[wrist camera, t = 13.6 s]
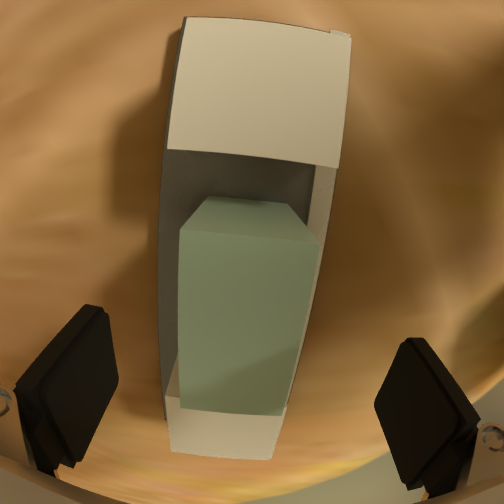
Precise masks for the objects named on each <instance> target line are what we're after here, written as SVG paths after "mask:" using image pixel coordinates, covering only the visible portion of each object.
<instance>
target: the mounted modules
mask: <svg viewBox="0 0 504 504" xmlns="http://www.w3.org/2000/svg"><path fill="white" fill-rule="evenodd" d="M350 54H351V38H347V37H343V36H340V35H335V34H331V33H327V32H322V31H318V30H313V29H308V28H303V27H297V26H291V25H285V24H278V23H271V22H263V21H254V20H243V19H229V18H202V17H187V20H186V25H185V30H184V35H183V40H182V46H181V51H180V57H179V62H178V68H177V75H176V81H175V88H174V95H173V102H172V109H171V117H170V126H169V135H168V144H167V149H178V150H192V151H206V152H218V153H229V154H238V155H248V156H256V157H265V158H273V159H280V160H287V161H294V162H301V163H307V164H314V165H320V166H326V167H332V168H339V160H340V153H341V145H342V138H343V129H344V121H345V112H346V102H347V92H348V80H349V68H350ZM165 402H166V413H167V423H168V432H169V440H170V448H171V451H173V452H179V453H186V454H193V455H202V456H211V457H221V458H234V459H253V460H271V458H272V455H273V452H274V449H275V446H276V443H277V439H278V436H279V433H280V430H281V426H282V423H283V420H284V416H285V413H286V410H287V402H285V406H284V410H283V413H282V416H264V415H245V414H230V413H219V412H209V411H200V410H192V409H184V408H180V392H179V365H178V354H177V357H176V360H175V363H174V367H173V370H172V373H171V377H170V380H169V384H168V387H167V390H166V394H165Z"/></svg>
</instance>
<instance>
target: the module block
mask: <svg viewBox="0 0 504 504" xmlns="http://www.w3.org/2000/svg"><path fill="white" fill-rule="evenodd" d="M319 249H320V242H319V241H318V240H317V239H316V237H315V236H314V235H313V234H312V232H311V231H310V230H309V229H308V228H307V226H306V225H305V224H304V223H303V222H302V220H301V219H300V218H299V217H298V216H297V214H296V213H295V212H294V211H293V210H292V208H291V207H290V206H289V205H288V204H285V203H276V202H267V201H258V200H249V199H239V198H229V197H218V196H208V197H207V198H206V199H205V201H204V202H203V203H202V204H201V205H200V206H199V207H198V209H197V210H196V211H195V212H194V213H193V214H192V216H191V217H190V218H189V219H188V220H187V221H186V223H185V224H184V225H183V226H182V227H181V229H180V238H179V265H178V365H179V392H180V408H184V409H192V410H200V411H209V412H219V413H230V414H245V415H264V416H282V413H283V410H284V406H285V402H286V398H287V395H288V391H289V387H290V383H291V379H292V375H293V371H294V367H295V363H296V359H297V355H298V350H299V346H300V342H301V337H302V333H303V329H304V324H305V319H306V315H307V310H308V305H309V301H310V296H311V291H312V286H313V281H314V276H315V270H316V265H317V260H318V254H319Z"/></svg>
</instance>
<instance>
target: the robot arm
mask: <svg viewBox="0 0 504 504" xmlns="http://www.w3.org/2000/svg"><path fill="white" fill-rule="evenodd" d="M118 380H119V377H118V371H117V366H116V360H115V354H114V348H113V342H112V335H111V328H110V320H109V315H108V313H105V312H104V309H103V308H102V307H99V306H94V305H89V304H85V305H84V306H83V307H82V308H81V309H80V310H79V311H78V312H77V313H76V314H75V315H74V316H73V318H72V319H71V320H70V321H69V322H68V323H67V324H66V325H65V326H64V327H63V329H62V330H61V331H60V332H59V333H58V334H57V335H56V336H55V337H54V339H53V340H52V341H51V342H50V343H49V344H48V345H47V347H46V348H45V349H44V350H43V351H42V352H41V354H40V355H39V356H38V357H37V358H36V359H35V361H34V362H33V363H32V364H31V365H30V367H29V368H28V369H27V370H26V371H25V373H24V374H23V375H22V376H21V378H20V379H19V380H18V381H17V383H16V387H15V389H14V390H13V391H12V390H11V389H10V388H9V387H7V386H5V385H1V384H0V504H129V503H126V502H122V501H119V500H115V499H112V498H109V497H106V496H103V495H100V494H96V493H93V492H91V491H88V490H85V489H82V488H79V487H77V486H74V485H71V484H69V483H66V482H64V481H61V480H60V478H59V475H58V472H57V470H56V469H57V468H58V466H59V464H60V463H61V464H63V465H66V466H68V467H71V468H73V469H74V466H75V464H76V462H81V461H82V459H83V457H84V455H85V453H86V451H87V448H88V446H89V444H90V442H91V440H92V438H93V435H94V433H95V431H96V429H97V427H98V425H99V423H100V420H101V418H102V416H103V414H104V412H105V410H106V408H107V406H108V404H109V402H110V400H111V398H112V396H113V394H114V392H115V390H116V388H117V385H118ZM374 408H375V411H376V414H377V416H378V419H379V422H380V424H381V427H382V429H383V432H384V435H385V437H386V440H387V443H388V446H389V448H390V451H391V454H392V457H393V459H394V462H395V465H396V468H397V471H398V473H399V476H400V479H401V481H402V483H404V484H406V487H407V490H408V491H409V490H413V489H417V488H421V487H422V486H423V485H424V486H425V489H426V490H425V492H424V495H423V497H422V499H421V501H420V502H417V503H414V504H504V427H502V426H501V425H499V424H496V423H492V422H489V423H485V424H483V425H482V426H481V427H480V428H479V429H478V428H477V426H476V425H477V423H478V422H479V421H480V420H481V418H480V417H479V415H478V414H477V412H476V411H475V409H474V408H473V406H472V405H471V403H470V402H469V400H468V399H467V397H466V396H465V394H464V393H463V391H462V390H461V388H460V387H459V385H458V384H457V383H456V381H455V380H454V378H453V377H452V375H451V374H450V373H449V371H448V370H447V368H446V367H445V366H444V364H443V363H442V362H441V360H440V359H439V357H438V356H437V355H436V353H435V352H434V351H433V349H432V348H431V347H430V345H429V344H428V343H427V341H426V340H425V339H424V338H407V339H406V340H405V341H404V342H402V343H401V344H400V346H399V349H398V351H397V353H396V356H395V358H394V360H393V362H392V365H391V367H390V369H389V371H388V374H387V376H386V378H385V380H384V382H383V384H382V386H381V388H380V390H379V392H378V394H377V396H376V398H375V402H374Z"/></svg>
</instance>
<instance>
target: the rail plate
mask: <svg viewBox="0 0 504 504" xmlns="http://www.w3.org/2000/svg"><path fill="white" fill-rule="evenodd" d="M202 18H224V17H202ZM229 19H239V18H229ZM186 20H187V17H184V19H183V23H182V28H181V33H180V38H179V43H178V49H177V54H176V60H175V66H174V72H173V78H172V84H171V91H170V98H169V106H168V113H167V121H166V130H165V139H164V149H163V160H162V172H161V185H160V201H159V221H158V255H157V302H158V336H159V356H160V371H161V384H162V396H163V407H164V416H165V420H167V413H166V402H165V394H166V390H167V387H168V384H169V380H170V377H171V373H172V370H173V367H174V363H175V360H176V357H177V354H178V265H179V238H180V229H181V227H182V226H183V225H184V224H185V223H186V221H187V220H188V219H189V218H190V217H191V216H192V214H193V213H194V212H195V211H196V210H197V209H198V207H199V206H200V205H201V204H202V203H203V202H204V201H205V199H206V198H207V197H208V196H218V197H229V198H239V199H249V200H258V201H267V202H276V203H285V204H288V205H289V206H290V207H291V208H292V210H293V211H294V212H295V213H296V214H297V216H298V217H299V218H300V219H301V220H302V222H303V223H304V224H305V225H306V226H307V228H308V229H309V230H310V231H311V232H312V234H313V235H314V236H315V237H316V239H317V240H318V241H319V242H320V249H319V254H318V260H317V265H316V270H315V276H314V281H313V286H312V291H311V296H310V301H309V305H308V310H307V315H306V319H305V324H304V329H303V333H302V337H301V342H300V346H299V350H298V355H297V359H296V363H295V367H294V371H293V375H292V379H291V383H290V387H289V391H288V395H287V398H286V402H287V404H288V400H289V397H290V393H291V390H292V386H293V382H294V379H295V375H296V371H297V367H298V364H299V360H300V356H301V352H302V348H303V344H304V340H305V335H306V331H307V327H308V323H309V319H310V314H311V310H312V305H313V301H314V296H315V292H316V287H317V282H318V277H319V272H320V267H321V262H322V257H323V252H324V247H325V242H326V236H327V231H328V225H329V219H330V213H331V207H332V201H333V195H334V189H335V182H336V175H337V168H332V167H326V166H320V165H314V164H307V163H301V162H294V161H287V160H280V159H273V158H265V157H256V156H248V155H238V154H229V153H218V152H206V151H192V150H178V149H167V144H168V135H169V126H170V117H171V109H172V102H173V95H174V88H175V81H176V75H177V68H178V62H179V57H180V51H181V46H182V40H183V35H184V30H185V25H186ZM243 20H251V19H243ZM254 21H260V20H254ZM263 22H269V21H263ZM271 23H276V22H271ZM278 24H283V23H278ZM285 25H290V24H285ZM291 26H296V25H291ZM297 27H301V26H297ZM303 28H307V27H303ZM308 29H312V28H308ZM313 30H317V29H313ZM318 31H321V30H318ZM322 32H326V31H322ZM327 33H331V34H335V35H340V36H343V37H347V38H350V34H348V33H344V32H340V31H336V30H332V29H330V31H329V32H327Z"/></svg>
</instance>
